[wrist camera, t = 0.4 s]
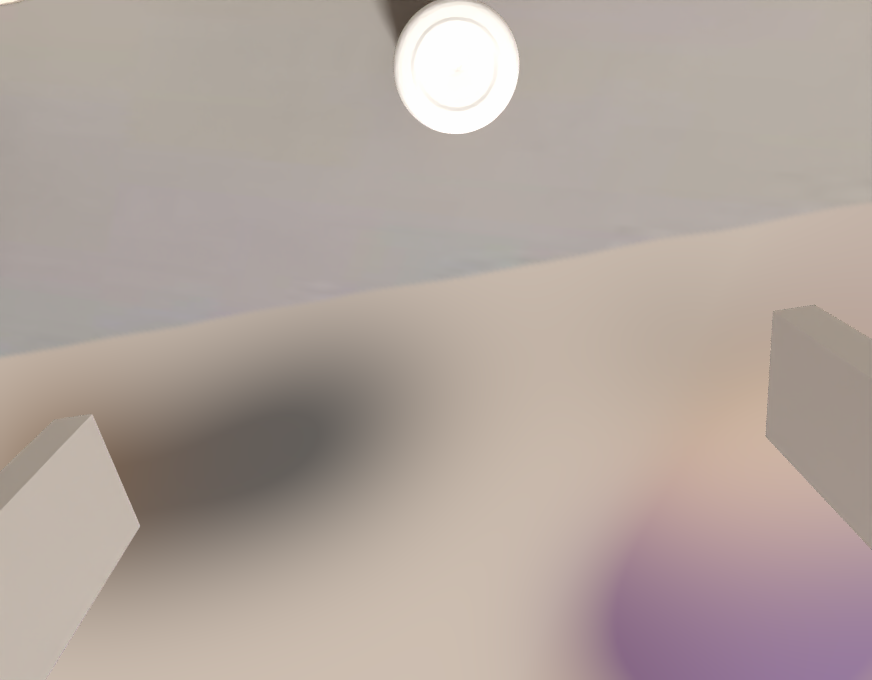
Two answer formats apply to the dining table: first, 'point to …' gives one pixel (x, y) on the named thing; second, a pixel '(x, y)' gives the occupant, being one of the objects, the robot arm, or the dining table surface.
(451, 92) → the sprinkles bottle
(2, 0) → the crock
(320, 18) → the dining table surface
